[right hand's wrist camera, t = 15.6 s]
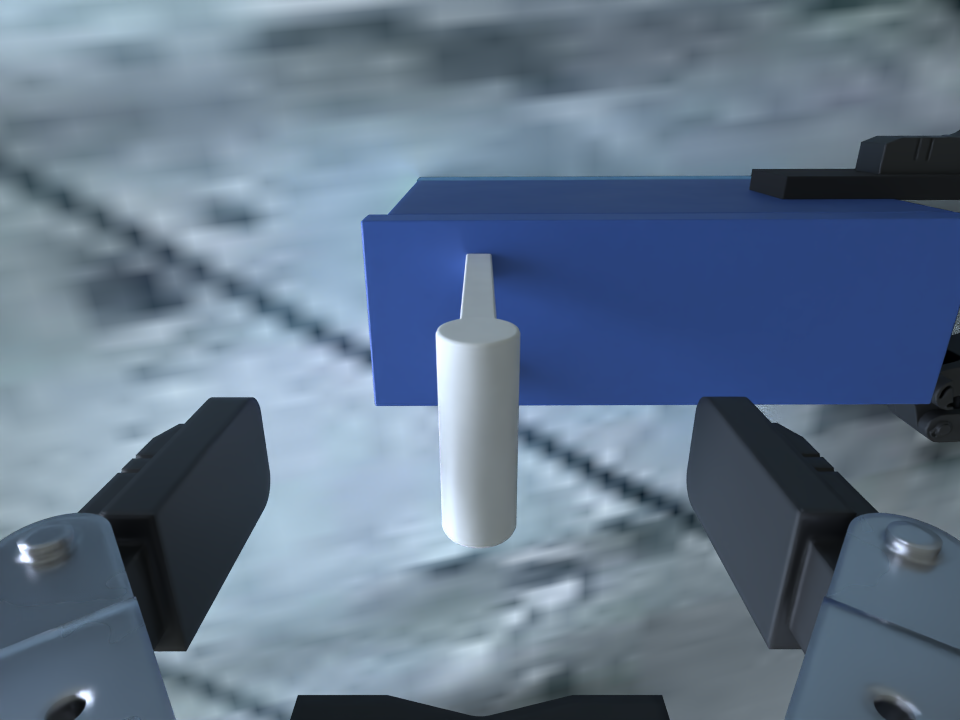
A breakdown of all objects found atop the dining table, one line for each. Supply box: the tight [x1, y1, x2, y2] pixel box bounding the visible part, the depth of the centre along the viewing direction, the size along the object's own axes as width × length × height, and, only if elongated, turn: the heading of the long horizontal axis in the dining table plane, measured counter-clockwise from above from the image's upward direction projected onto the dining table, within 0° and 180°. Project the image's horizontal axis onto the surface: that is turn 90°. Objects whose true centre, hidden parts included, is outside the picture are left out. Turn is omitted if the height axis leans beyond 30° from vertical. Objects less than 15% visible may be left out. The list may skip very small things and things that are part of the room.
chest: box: [388, 176, 952, 215], centre depth 23 cm, size 16×6×11 cm, turn 90°
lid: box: [361, 212, 960, 548], centre depth 15 cm, size 17×6×9 cm, turn 90°
